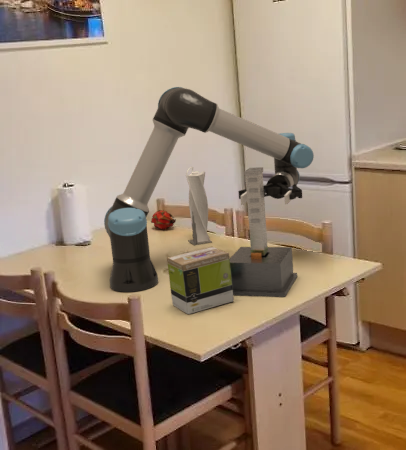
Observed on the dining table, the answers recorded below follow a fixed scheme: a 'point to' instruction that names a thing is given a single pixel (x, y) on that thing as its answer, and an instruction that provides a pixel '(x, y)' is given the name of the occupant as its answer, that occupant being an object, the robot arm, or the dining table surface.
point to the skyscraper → (198, 207)
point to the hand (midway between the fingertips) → (263, 200)
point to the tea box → (200, 279)
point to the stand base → (262, 272)
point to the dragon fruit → (162, 220)
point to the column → (256, 210)
